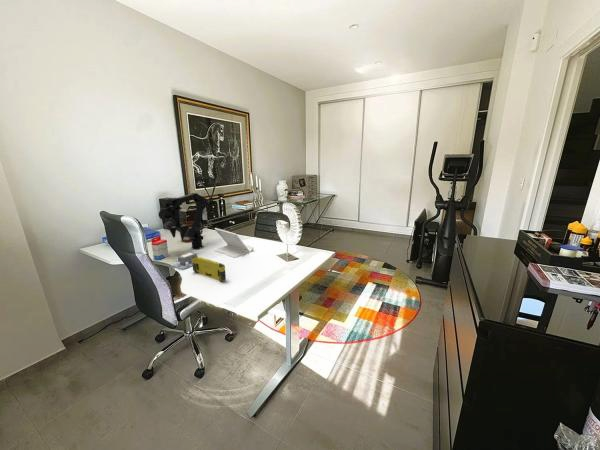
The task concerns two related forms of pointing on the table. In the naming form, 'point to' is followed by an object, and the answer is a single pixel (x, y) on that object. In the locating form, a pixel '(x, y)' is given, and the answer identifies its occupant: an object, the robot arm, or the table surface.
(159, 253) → the ink box
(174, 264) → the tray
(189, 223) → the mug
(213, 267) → the gaming console
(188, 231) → the robot arm
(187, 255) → the drive
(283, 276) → the table surface
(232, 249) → the tablet stand
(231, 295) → the table surface
